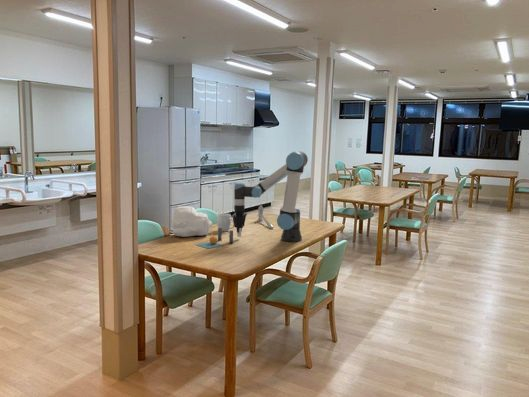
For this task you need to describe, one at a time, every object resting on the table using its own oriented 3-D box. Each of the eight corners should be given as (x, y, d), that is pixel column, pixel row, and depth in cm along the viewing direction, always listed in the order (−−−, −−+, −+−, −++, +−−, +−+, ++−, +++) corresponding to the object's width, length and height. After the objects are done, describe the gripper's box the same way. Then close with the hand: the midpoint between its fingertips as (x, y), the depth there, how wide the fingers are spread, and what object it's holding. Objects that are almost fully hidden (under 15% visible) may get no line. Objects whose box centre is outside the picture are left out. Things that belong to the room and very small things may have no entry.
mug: (237, 230, 349) (237, 214, 348) (231, 233, 339) (231, 216, 338) (221, 228, 355) (221, 212, 353) (214, 231, 345) (214, 215, 343)
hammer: (275, 236, 359) (262, 219, 395) (276, 217, 354) (262, 202, 391) (270, 236, 357) (256, 220, 394) (271, 217, 353) (257, 202, 389)
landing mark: (211, 241, 310) (211, 241, 310) (224, 245, 301) (224, 245, 301) (195, 244, 301) (195, 244, 301) (207, 248, 291) (207, 248, 291)
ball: (208, 235, 303) (207, 243, 304) (212, 237, 299) (212, 245, 300) (214, 235, 307) (214, 243, 308) (219, 236, 303) (218, 244, 303)
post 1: (220, 239, 317) (220, 227, 316) (222, 240, 315) (222, 228, 314) (217, 240, 315) (217, 228, 314) (219, 241, 313) (219, 228, 312)
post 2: (231, 242, 308) (231, 230, 307) (233, 243, 306) (233, 230, 305) (228, 243, 306) (228, 230, 305) (231, 244, 304) (231, 231, 303)
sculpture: (172, 239, 316) (213, 238, 322) (172, 209, 313) (214, 209, 319) (171, 231, 341) (210, 231, 347) (171, 204, 338) (210, 204, 344)
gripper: (242, 203, 323) (242, 234, 327) (229, 204, 314) (229, 237, 317) (249, 204, 318) (249, 236, 321) (236, 206, 309) (235, 238, 312)
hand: (239, 236), depth 319 cm, fingers closed
